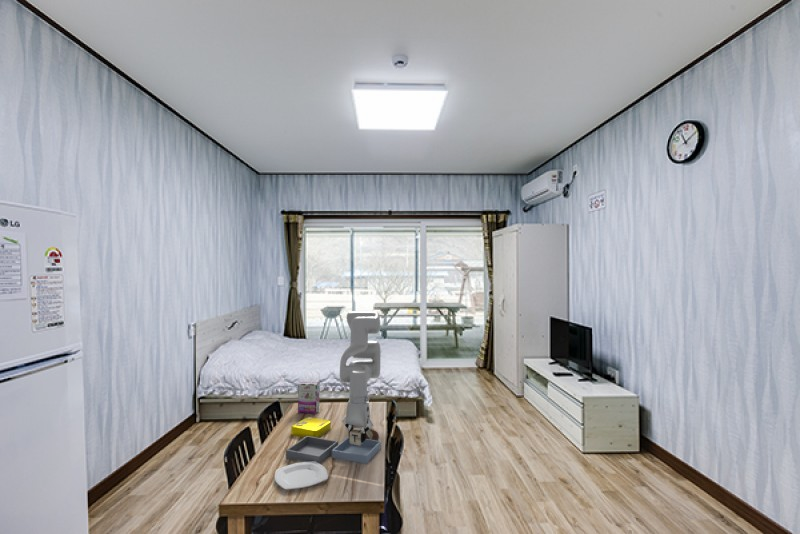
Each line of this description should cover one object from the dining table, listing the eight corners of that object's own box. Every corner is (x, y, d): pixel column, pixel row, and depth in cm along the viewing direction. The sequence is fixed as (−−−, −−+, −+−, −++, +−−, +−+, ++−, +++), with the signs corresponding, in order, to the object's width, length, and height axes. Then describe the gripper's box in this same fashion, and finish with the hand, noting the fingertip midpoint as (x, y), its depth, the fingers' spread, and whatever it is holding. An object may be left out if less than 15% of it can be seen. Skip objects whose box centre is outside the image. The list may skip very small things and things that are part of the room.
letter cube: (354, 438, 172) (354, 427, 172) (364, 440, 171) (365, 429, 171) (349, 443, 167) (349, 431, 167) (359, 445, 166) (360, 433, 166)
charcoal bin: (306, 443, 178) (307, 435, 178) (337, 449, 173) (337, 441, 173) (285, 458, 163) (285, 450, 163) (318, 465, 157) (319, 456, 158)
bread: (358, 446, 177) (358, 435, 177) (352, 436, 188) (352, 426, 188) (381, 442, 181) (381, 431, 181) (374, 433, 192) (374, 423, 192)
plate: (270, 473, 151) (270, 468, 151) (318, 463, 160) (318, 458, 160) (280, 498, 134) (280, 492, 134) (333, 484, 144) (333, 479, 144)
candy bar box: (319, 411, 222) (320, 382, 222) (316, 414, 217) (316, 384, 218) (301, 409, 224) (301, 381, 224) (297, 412, 219) (298, 383, 219)
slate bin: (348, 443, 178) (349, 436, 179) (380, 449, 173) (381, 441, 173) (331, 458, 163) (331, 450, 164) (366, 465, 158) (366, 456, 158)
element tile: (315, 440, 183) (315, 430, 183) (289, 435, 188) (289, 425, 188) (332, 429, 197) (332, 419, 197) (307, 424, 202) (307, 415, 202)
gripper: (379, 398, 170) (378, 440, 170) (344, 393, 176) (343, 433, 175) (372, 404, 163) (371, 447, 163) (336, 398, 169) (335, 440, 168)
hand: (357, 439), depth 169 cm, fingers closed on letter cube, 4 cm apart
